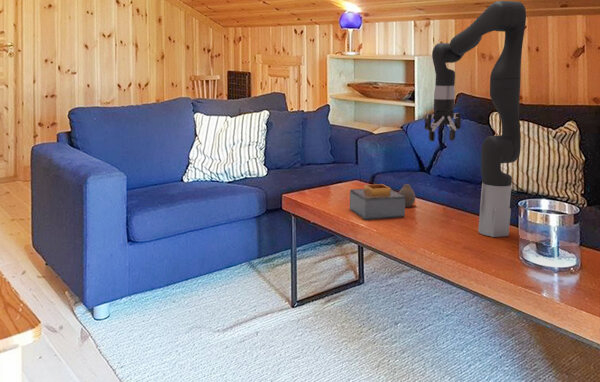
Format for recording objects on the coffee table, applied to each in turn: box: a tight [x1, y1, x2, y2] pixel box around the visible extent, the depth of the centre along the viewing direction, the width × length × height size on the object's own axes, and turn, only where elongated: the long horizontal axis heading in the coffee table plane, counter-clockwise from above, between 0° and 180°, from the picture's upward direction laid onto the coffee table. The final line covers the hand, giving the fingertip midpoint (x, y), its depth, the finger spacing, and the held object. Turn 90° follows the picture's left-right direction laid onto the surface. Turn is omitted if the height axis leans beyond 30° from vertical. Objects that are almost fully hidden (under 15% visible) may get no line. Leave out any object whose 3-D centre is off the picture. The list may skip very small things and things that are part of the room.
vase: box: [398, 183, 416, 208], centre depth 216 cm, size 7×7×9 cm
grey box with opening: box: [349, 183, 406, 221], centre depth 207 cm, size 20×16×10 cm
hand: (441, 140), depth 205 cm, fingers open, 8 cm apart
